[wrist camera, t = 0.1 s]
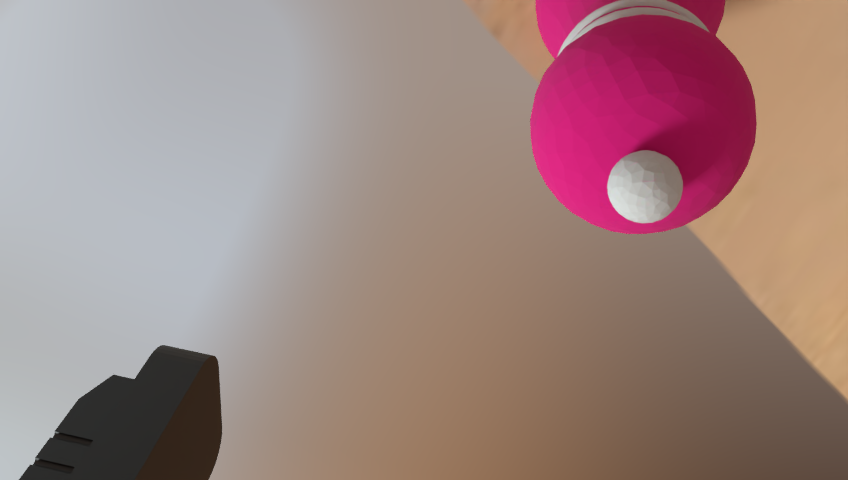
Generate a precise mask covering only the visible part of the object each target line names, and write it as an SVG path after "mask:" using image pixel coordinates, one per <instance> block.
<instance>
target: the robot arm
mask: <svg viewBox="0 0 848 480" xmlns="http://www.w3.org/2000/svg"><path fill="white" fill-rule="evenodd" d="M221 437H222V419H221V400H220V383H219V366H218V361H217V358H216V357H215V356H212V355H207V354H202V353H198V352H193V351H188V350H184V349H179V348H175V347H170V346H165V345H162V346H160V347H158V348H157V349H156V350H155V351H154V352H153V353H152V354H151V356H150V357H149V359H148V360H147V362H146V363H145V365H144V366H143V367H142V369H141V370H140V372H139V373H138V375H137V376H136V378H135V379H130V378H126V377H121V376H117V375H113V376H111V377H110V378H108V379H107V380H105V381H104V382H103V383H101V384H100V385H98V386H97V387H95V388H94V389H93V390H91V391H90V392H88V393H87V394H85V395H84V396H82V397H81V398H80V399H78V401H77V402H76V403H75V405H74V406H73V408H72V409H71V410H70V412H69V413H68V414H67V416H66V417H65V418H64V420H63V421H62V422H61V424H60V425H59V426H58V428H57V429H56V430H55V435H54V437H53V438H50V439H49V440H48V441H47V443H46V444H45V445H44V447H43V448H42V449H41V451H40V452H39V453H38V455H37V456H36V458H35V462H34V464H33V465H30V466H29V467H28V468H27V470H26V471H25V472H24V474H23V475H22V476H21V478H20V479H19V480H208V479H209V477H210V475H211V473H212V471H213V468H214V466H215V463H216V460H217V456H218V453H219V448H220V444H221Z"/></svg>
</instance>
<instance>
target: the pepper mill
mask: <svg viewBox="0 0 848 480" xmlns="http://www.w3.org/2000/svg"><path fill="white" fill-rule="evenodd" d="M724 6H725V0H536V14H537V21H538V27H539V30H540V33H541V36H542V39H543V41H544V43H545V45H546V47H547V49H548V51H549V52H550V53H551V55H552V56H553V57H554V59H555V60H554V62H553V63H552V64H551V65H550V67H549V68H548V69H547V70H546V72H545V73H544V75H543V78H542V80H541V82H540V84H539V87H538V89H537V91H536V94H535V99H534V104H533V109H532V114H531V119H530V126H531V142H532V150H533V154H534V158H535V161H536V165H537V168H538V170H539V172H540V174H541V176H542V177H543V179H544V181H545V183H546V185H547V186H548V188H549V189H550V190H551V191H552V193H553V194H554V195H555V196H556V198H557V199H558V200H559V201H560V202H561V203H562V204H563V205H564V206H565V207H566V208H568V209H569V210H570V211H571V212H572V213H574V214H576V215H577V216H579V217H581V218H582V219H584V220H586V221H587V222H589V223H591V224H593V225H596V226H599V227H601V228H604V229H607V230H610V231H613V232H620V233H626V234H647V233H655V232H663V231H667V230H671V229H674V228H678V227H681V226H684V225H685V224H687V223H689V222H691V221H693V220H695V219H697V218H699V217H701V216H702V215H704V214H705V213H707V212H708V211H710V210H711V209H712V208H714V207H715V206H717V205H718V204H719V203H720V202H721V201H722V200H723V199H724V198H725V197H726V196H727V195H728V194H729V193H730V192H731V190H732V189H733V187H734V186H735V185H736V183H737V182H738V180H739V179H740V177H741V176H742V174H743V172H744V170H745V168H746V167H747V165H748V162H749V159H750V156H751V153H752V150H753V146H754V143H755V135H756V110H755V99H754V95H753V91H752V87H751V84H750V81H749V79H748V77H747V75H746V73H745V71H744V68H743V67H742V65H741V64H740V63H739V61H738V60H737V58H736V57H735V56H734V55H733V53H732V52H731V51H730V50H729V49H728V48H727V47H726V46H725V45H724V44H723V43H722V42H721V41H720V40H719V39H718V38H717V37H716V36H715V35H716V33H717V30H718V28H719V25H720V22H721V20H722V17H723V13H724Z"/></svg>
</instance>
